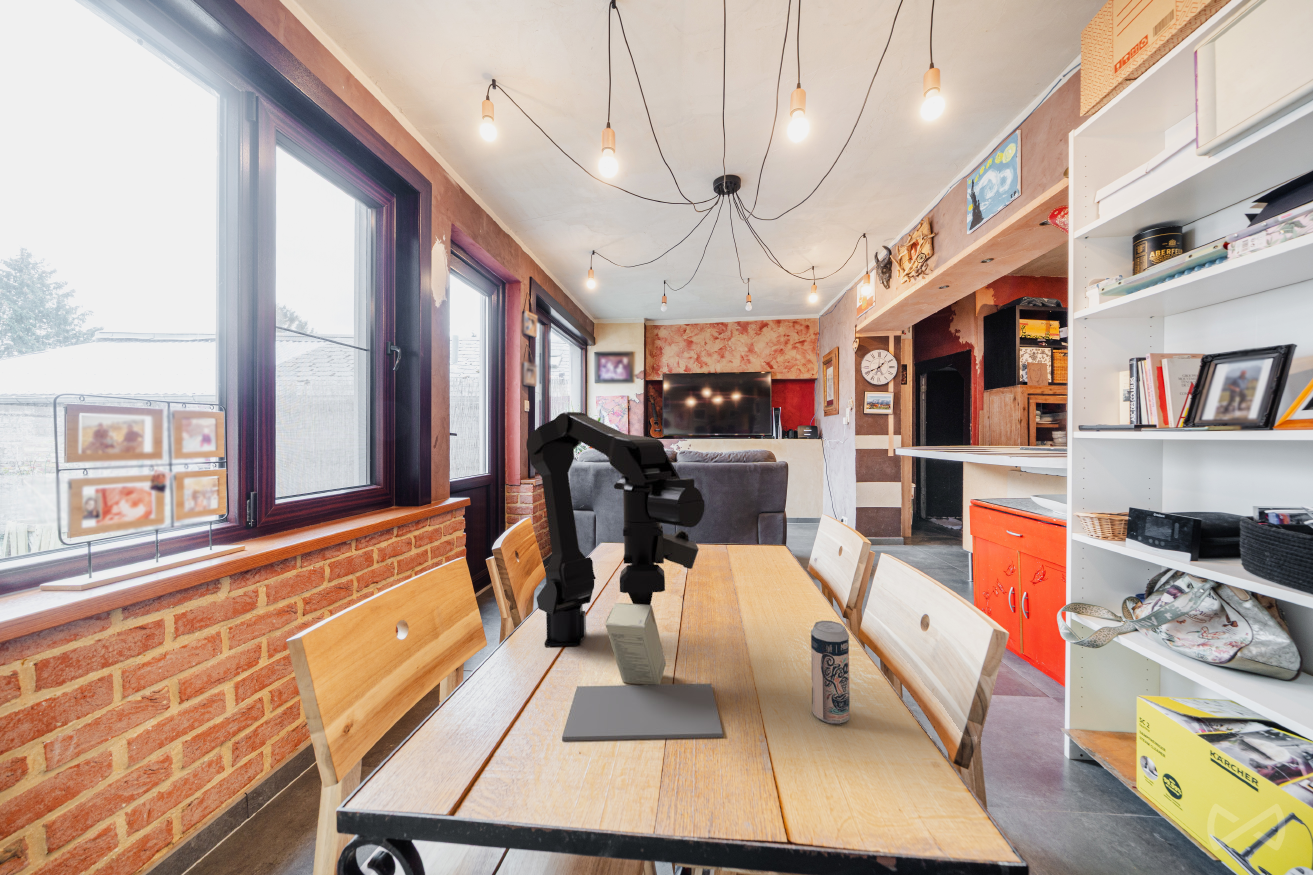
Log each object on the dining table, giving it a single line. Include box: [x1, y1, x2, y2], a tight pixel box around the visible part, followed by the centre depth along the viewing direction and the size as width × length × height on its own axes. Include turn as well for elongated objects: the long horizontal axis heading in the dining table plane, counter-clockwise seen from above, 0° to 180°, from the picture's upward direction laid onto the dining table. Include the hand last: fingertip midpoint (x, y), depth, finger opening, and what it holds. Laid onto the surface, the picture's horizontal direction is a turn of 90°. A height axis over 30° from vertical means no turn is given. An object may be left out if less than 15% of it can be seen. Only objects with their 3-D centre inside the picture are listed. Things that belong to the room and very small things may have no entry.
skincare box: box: [604, 602, 667, 685], centre depth 72 cm, size 6×4×12 cm
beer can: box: [810, 620, 851, 725], centre depth 64 cm, size 5×5×12 cm
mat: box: [561, 683, 724, 742], centre depth 66 cm, size 20×12×1 cm, turn 91°
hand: (644, 620), depth 75 cm, fingers closed
